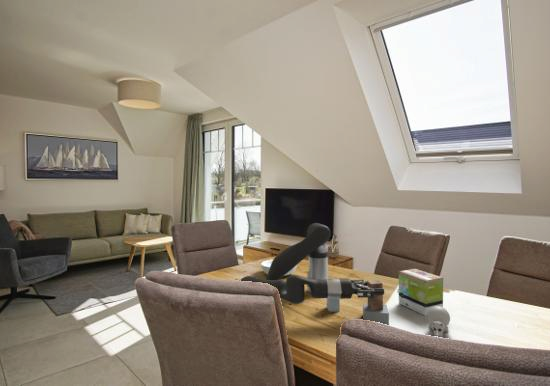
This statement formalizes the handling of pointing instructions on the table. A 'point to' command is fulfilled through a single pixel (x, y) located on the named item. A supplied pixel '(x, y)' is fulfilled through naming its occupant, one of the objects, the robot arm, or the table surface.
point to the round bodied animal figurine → (438, 320)
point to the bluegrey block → (333, 304)
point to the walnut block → (377, 301)
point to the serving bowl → (268, 263)
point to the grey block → (376, 314)
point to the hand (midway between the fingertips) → (380, 287)
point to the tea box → (420, 290)
